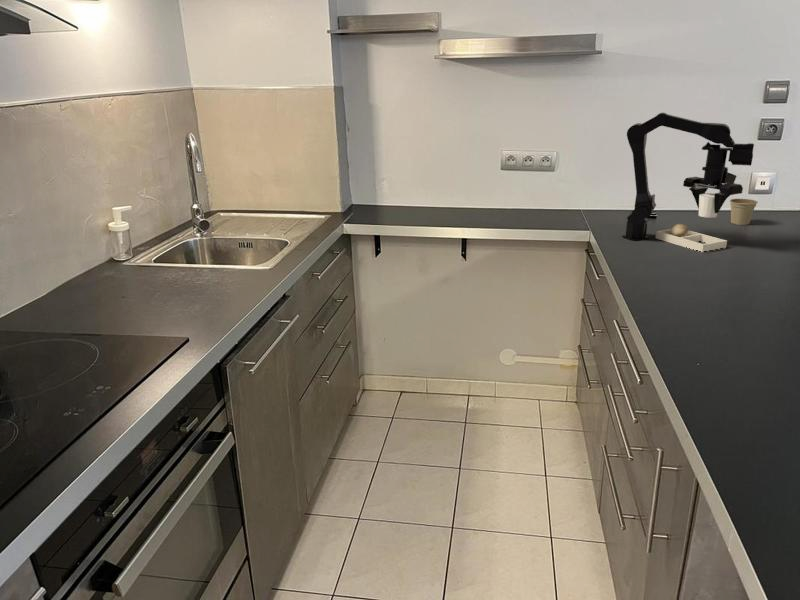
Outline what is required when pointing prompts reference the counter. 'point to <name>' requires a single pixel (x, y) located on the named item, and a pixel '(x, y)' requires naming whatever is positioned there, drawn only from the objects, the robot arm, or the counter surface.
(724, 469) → the counter surface
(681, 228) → the tan wooden ball
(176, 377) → the counter surface
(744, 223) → the flower pot
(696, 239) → the holder
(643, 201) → the robot arm
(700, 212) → the white and grey cylinder
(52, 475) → the counter surface
